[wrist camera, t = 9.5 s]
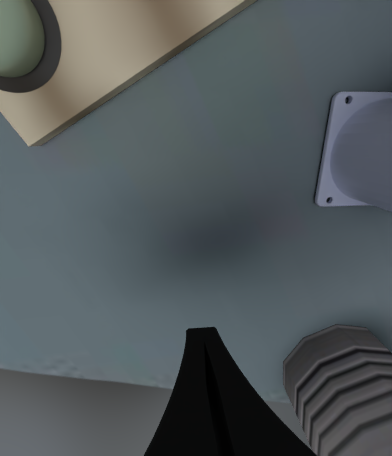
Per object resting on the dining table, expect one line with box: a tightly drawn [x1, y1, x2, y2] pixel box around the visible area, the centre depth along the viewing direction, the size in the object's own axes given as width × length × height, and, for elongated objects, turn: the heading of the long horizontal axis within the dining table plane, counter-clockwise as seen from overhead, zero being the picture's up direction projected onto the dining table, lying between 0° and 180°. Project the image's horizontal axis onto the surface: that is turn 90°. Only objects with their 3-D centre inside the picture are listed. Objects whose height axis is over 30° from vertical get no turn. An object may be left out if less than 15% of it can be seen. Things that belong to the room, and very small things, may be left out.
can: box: [283, 324, 392, 456], centre depth 21 cm, size 11×11×12 cm
